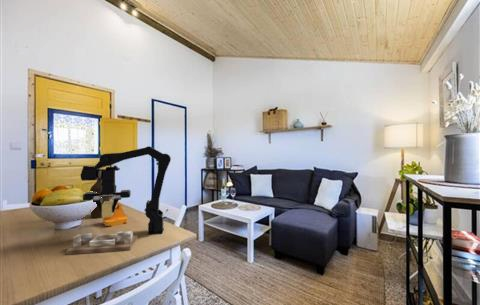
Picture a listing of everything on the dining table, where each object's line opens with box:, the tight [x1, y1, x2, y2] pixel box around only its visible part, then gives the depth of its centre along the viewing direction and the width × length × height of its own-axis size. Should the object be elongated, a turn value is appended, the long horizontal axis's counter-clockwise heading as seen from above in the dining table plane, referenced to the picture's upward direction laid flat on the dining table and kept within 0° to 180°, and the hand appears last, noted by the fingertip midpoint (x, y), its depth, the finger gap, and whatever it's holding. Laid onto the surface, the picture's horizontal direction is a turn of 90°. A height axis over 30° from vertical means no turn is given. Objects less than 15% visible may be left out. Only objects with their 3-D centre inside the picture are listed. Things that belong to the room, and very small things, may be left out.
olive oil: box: [89, 177, 111, 219], centre depth 133 cm, size 11×11×25 cm
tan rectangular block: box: [102, 200, 114, 218], centre depth 104 cm, size 6×4×6 cm, turn 22°
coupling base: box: [66, 230, 139, 255], centre depth 93 cm, size 23×12×6 cm, turn 101°
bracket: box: [102, 201, 129, 227], centre depth 121 cm, size 11×7×12 cm, turn 132°
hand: (108, 212), depth 104 cm, fingers closed on tan rectangular block, 4 cm apart
